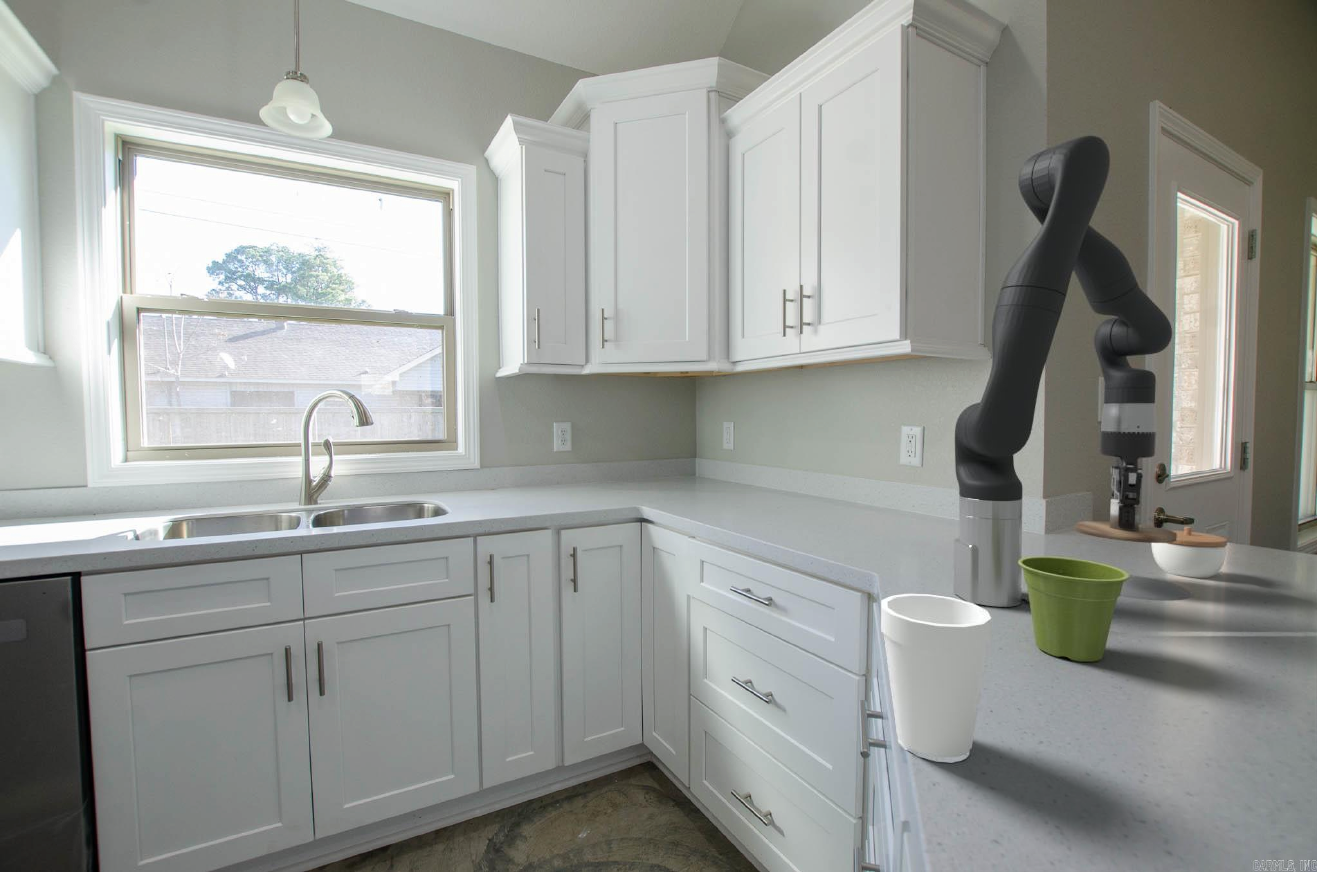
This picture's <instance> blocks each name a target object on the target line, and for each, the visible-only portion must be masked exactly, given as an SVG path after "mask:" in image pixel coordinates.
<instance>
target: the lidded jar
mask: <svg viewBox="0 0 1317 872" xmlns="http://www.w3.org/2000/svg"><path fill="white" fill-rule="evenodd" d="M1192 529H1193V528H1192V526H1184V529H1183V530H1169V529H1168V530H1169V531H1173V532H1175V533H1176V534H1177V540H1176V541H1175V542H1170V543H1150V544H1151V551H1152V556H1153V559H1154V561H1155V562H1156V564H1157V566H1158V567H1159V568H1160V569H1162V571H1164V572H1165V573H1168V574H1170V575H1174V576H1179V577H1185V578H1186V577H1188V578H1193V579H1209V578H1211V577H1213V576H1214V575H1216V574H1217V573H1219V571H1221V569H1222V568H1223V566H1224V564H1225V561H1226V556H1227V545H1228V540H1227V538H1225V537H1222V536H1218V535H1215V534H1211V533H1209V534H1208V533H1203V532H1195V531H1192Z"/></svg>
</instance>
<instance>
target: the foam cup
mask: <svg viewBox="0 0 1317 872" xmlns="http://www.w3.org/2000/svg"><path fill="white" fill-rule="evenodd" d="M880 607H881V608H880V609H881V610H880V623H881V624H880V631H881V632H882V634H883V638H884V645H885V655H886V661H887V669H888V678H889V684H890V693H891V699H892V700H891V701H892V707H893V714H894V715H893V716H894V721H895V729H896V730H895V731H896V736H897V742H898V744H899V745H900V746H901V747H902V748H903V749H904V750H905V751H906V750H907V749H908V748H911V749H913V750H916V751H918V752H922V753H923V754H927V755H931V756H935V757H959V756H962V755H966V754H967V753H968V752H969V750H970V749H972V748H973V742H974V736H975V730H976V729H975V728H976V724H977V723H976V722H977V717H978V711H979V704H980V698H981V693H982V687H983V680H984V675H985V668H986V661H987V657H988V649H989V646H990V645H992V617H991V615H990V612H989V611H988V610H987V609H985V608H983V607H981V606H979V605H978V604H973V603H969V602H967V601H966V600H963V599H958V598H955V597H949V596H942V595H937V594H936V595H934V594H930V593H929V594H928V593H927V594H926V593H924V594H923V593H903V594H902V593H901V594H895V595H890V596H888V597H886V598H884V599H881V601H880Z"/></svg>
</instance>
